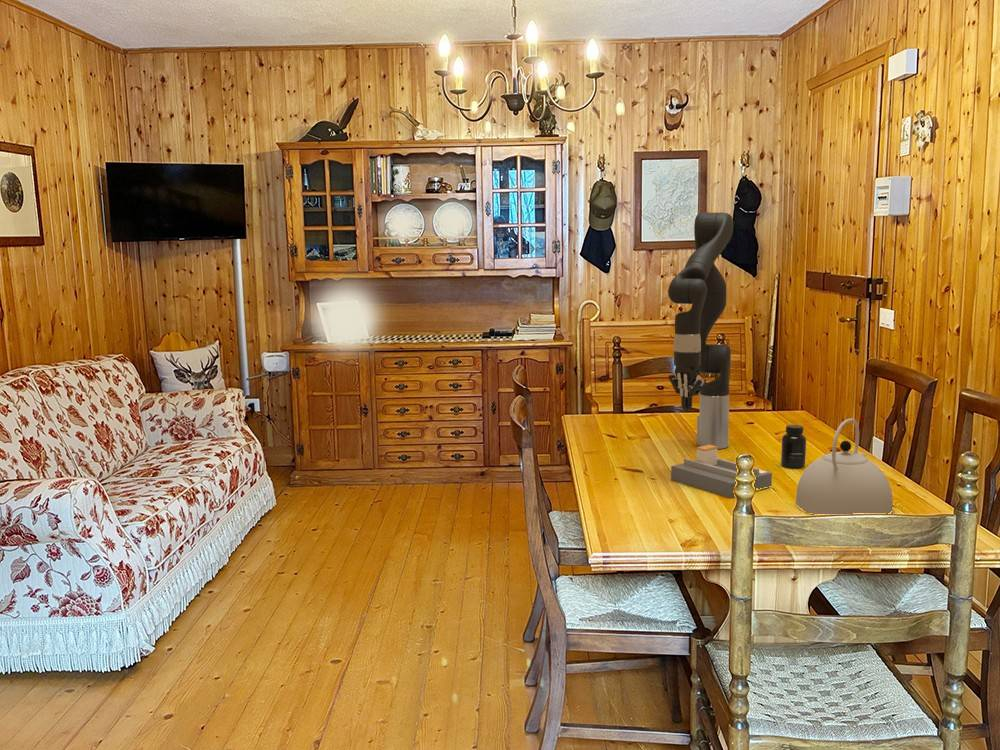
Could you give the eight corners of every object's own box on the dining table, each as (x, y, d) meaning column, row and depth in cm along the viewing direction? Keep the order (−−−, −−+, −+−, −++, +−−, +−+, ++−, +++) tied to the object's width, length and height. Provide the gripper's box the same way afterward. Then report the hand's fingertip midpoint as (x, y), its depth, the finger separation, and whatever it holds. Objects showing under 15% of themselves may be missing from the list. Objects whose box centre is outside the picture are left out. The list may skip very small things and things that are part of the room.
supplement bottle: (795, 470, 251) (796, 429, 249) (776, 465, 256) (777, 425, 254) (810, 466, 254) (811, 426, 252) (791, 461, 260) (792, 422, 258)
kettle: (818, 486, 235) (820, 405, 231) (906, 501, 220) (911, 415, 217) (781, 510, 216) (783, 422, 212) (876, 528, 202) (880, 434, 198)
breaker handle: (696, 465, 243) (696, 447, 242) (709, 462, 246) (709, 444, 245) (704, 467, 241) (704, 449, 240) (717, 464, 243) (717, 446, 243)
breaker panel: (671, 479, 245) (671, 460, 244) (710, 469, 253) (710, 451, 252) (731, 498, 227) (731, 477, 226) (771, 487, 235) (772, 467, 234)
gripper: (661, 348, 248) (660, 407, 251) (695, 352, 237) (694, 414, 240) (679, 346, 252) (679, 404, 255) (714, 350, 241) (713, 411, 244)
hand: (686, 409), depth 248 cm, fingers closed
